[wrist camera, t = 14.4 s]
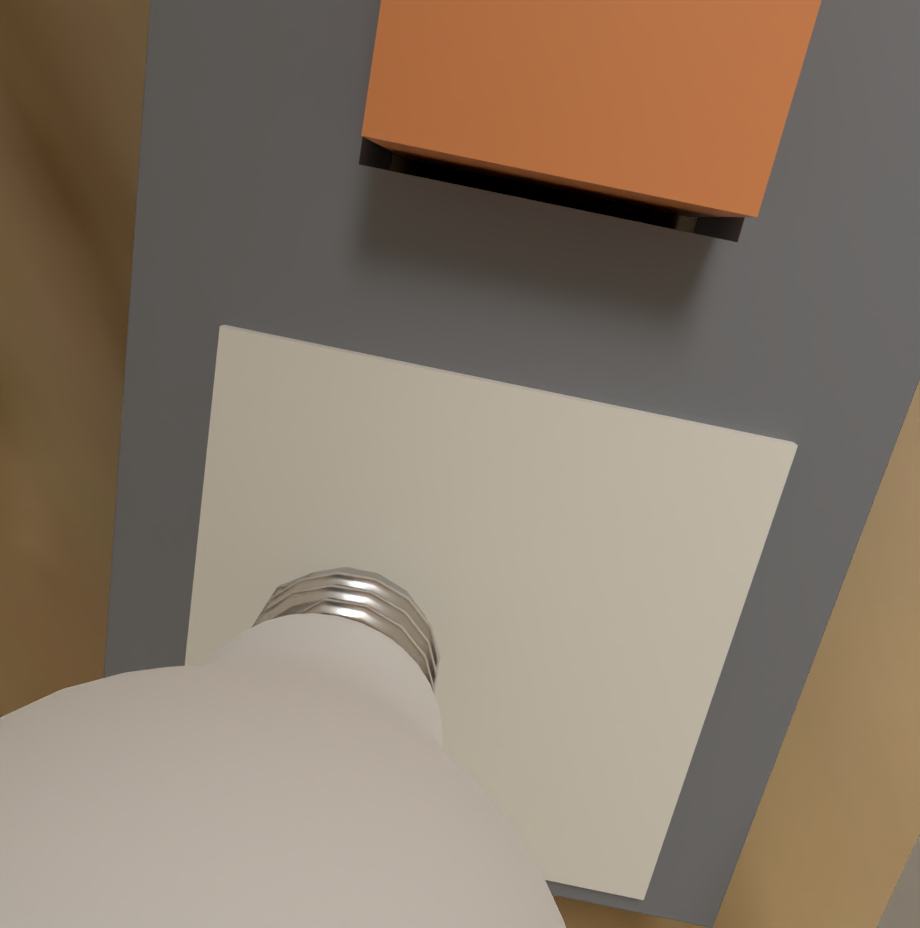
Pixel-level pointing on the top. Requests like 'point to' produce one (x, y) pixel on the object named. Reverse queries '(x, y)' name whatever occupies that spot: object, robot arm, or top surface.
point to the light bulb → (262, 786)
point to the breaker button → (594, 94)
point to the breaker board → (520, 423)
